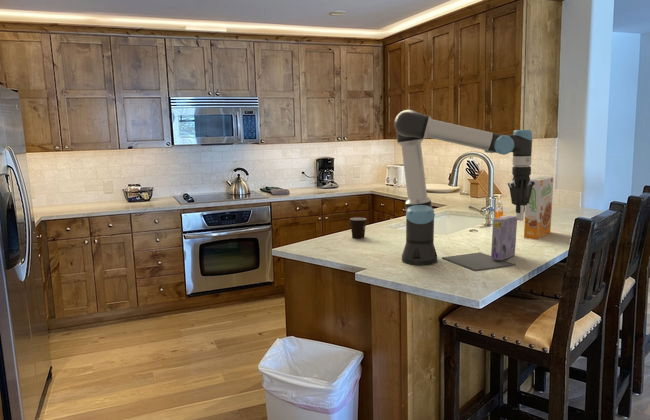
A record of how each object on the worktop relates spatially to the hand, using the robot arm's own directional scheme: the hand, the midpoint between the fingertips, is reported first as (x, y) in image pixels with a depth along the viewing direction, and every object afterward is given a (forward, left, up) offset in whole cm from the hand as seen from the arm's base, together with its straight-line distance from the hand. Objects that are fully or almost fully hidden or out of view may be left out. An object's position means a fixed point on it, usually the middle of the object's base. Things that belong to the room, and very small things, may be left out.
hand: (519, 220), depth 218 cm
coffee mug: (-44, +67, -17) cm, 82 cm away
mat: (-22, 0, -16) cm, 27 cm away
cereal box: (+42, +30, -17) cm, 54 cm away
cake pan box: (-8, 0, -16) cm, 18 cm away
